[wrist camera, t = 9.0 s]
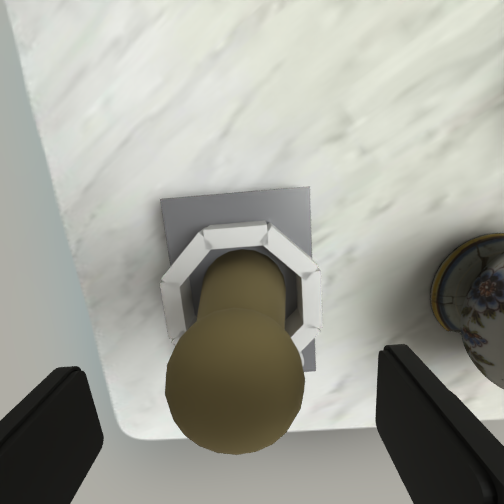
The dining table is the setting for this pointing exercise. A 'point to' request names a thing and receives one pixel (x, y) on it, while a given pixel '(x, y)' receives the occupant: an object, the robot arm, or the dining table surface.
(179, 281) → the octagonal ring stand
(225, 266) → the cork
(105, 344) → the dining table surface
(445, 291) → the apothecary jar
